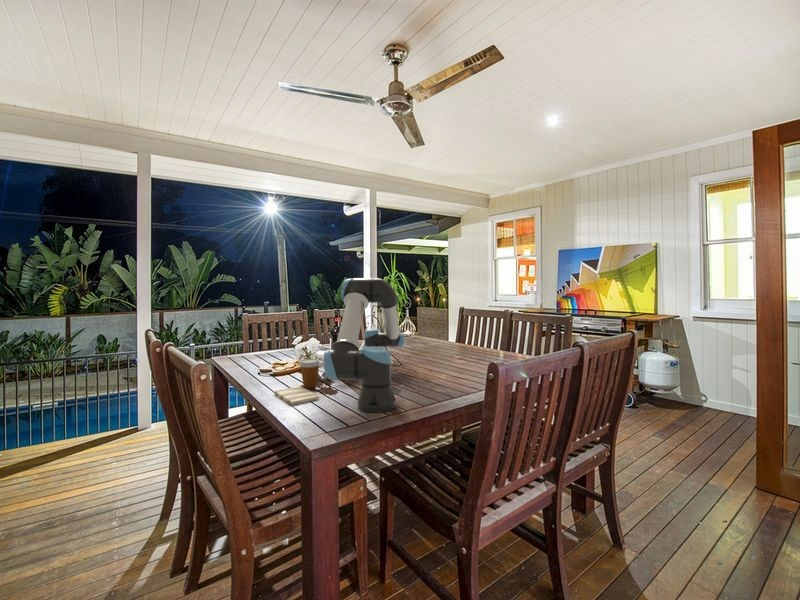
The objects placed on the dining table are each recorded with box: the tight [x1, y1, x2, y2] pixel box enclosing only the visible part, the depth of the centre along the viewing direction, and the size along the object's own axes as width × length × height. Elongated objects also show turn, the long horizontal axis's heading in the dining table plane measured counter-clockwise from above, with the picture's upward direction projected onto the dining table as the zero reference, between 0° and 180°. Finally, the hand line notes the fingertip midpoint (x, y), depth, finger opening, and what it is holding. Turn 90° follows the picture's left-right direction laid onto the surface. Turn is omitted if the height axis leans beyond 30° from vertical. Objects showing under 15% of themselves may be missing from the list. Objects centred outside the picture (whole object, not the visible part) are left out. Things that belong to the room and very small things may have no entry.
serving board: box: [274, 385, 320, 406], centre depth 164 cm, size 19×12×2 cm, turn 38°
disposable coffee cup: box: [298, 358, 321, 388], centre depth 180 cm, size 10×10×12 cm
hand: (326, 367), depth 188 cm, fingers open, 13 cm apart
